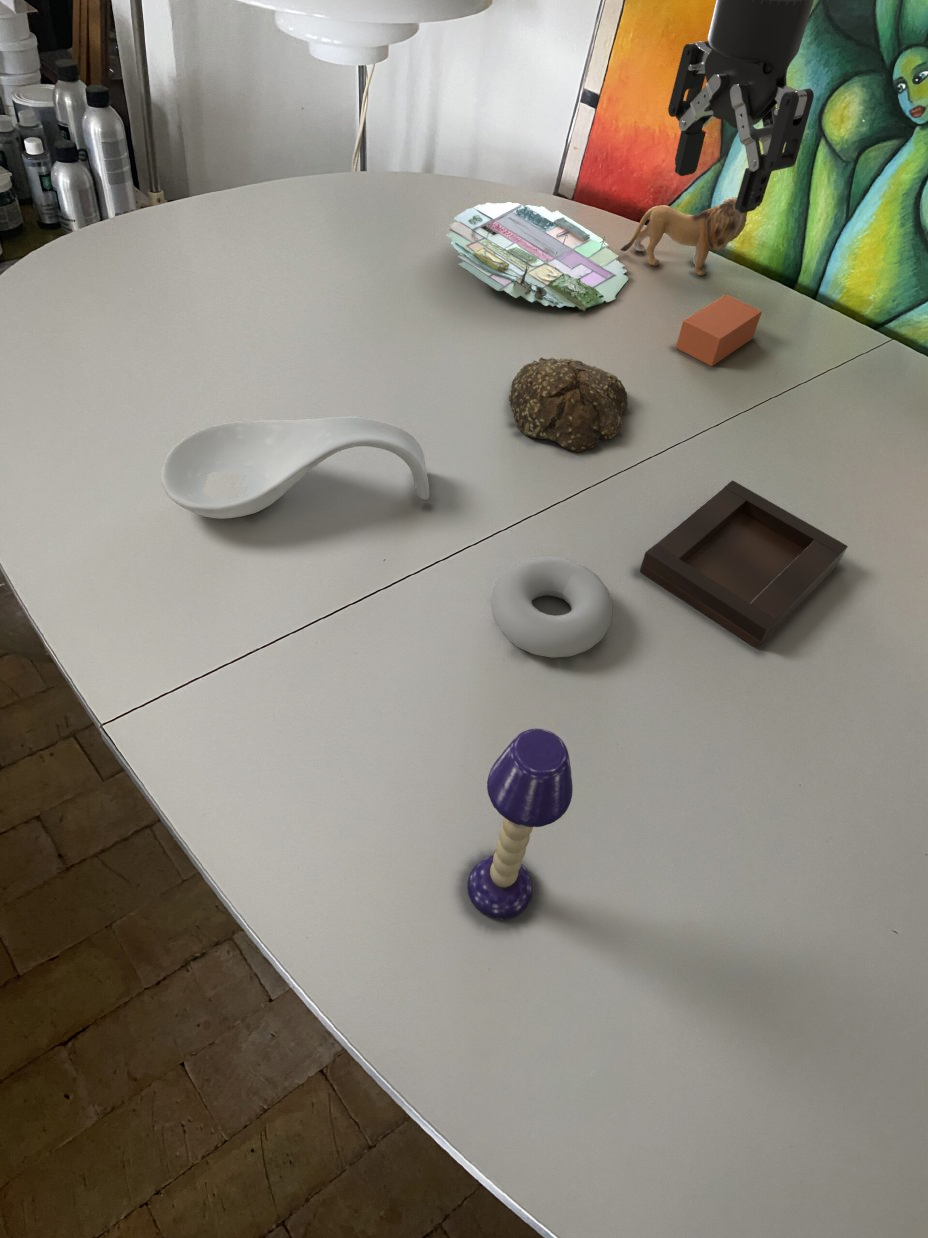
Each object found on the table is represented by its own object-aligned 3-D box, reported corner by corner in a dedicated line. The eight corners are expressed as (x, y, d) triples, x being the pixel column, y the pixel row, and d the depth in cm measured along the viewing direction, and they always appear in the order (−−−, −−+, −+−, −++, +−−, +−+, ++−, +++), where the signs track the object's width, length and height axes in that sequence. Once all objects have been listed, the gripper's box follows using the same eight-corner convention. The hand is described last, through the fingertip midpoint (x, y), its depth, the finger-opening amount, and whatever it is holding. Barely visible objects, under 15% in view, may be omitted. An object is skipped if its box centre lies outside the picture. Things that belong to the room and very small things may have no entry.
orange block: (717, 320, 105) (725, 293, 103) (753, 338, 103) (762, 310, 100) (675, 347, 101) (682, 320, 98) (711, 366, 99) (720, 338, 96)
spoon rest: (163, 544, 75) (145, 480, 70) (172, 457, 83) (156, 393, 77) (435, 527, 79) (438, 465, 73) (420, 445, 86) (421, 383, 81)
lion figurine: (730, 261, 115) (752, 192, 108) (731, 281, 112) (753, 210, 105) (620, 245, 116) (634, 175, 110) (617, 263, 113) (631, 193, 106)
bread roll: (517, 370, 96) (522, 329, 92) (629, 389, 95) (639, 348, 91) (496, 440, 87) (501, 398, 84) (619, 462, 86) (629, 420, 83)
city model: (603, 352, 103) (619, 305, 98) (416, 290, 104) (423, 241, 99) (634, 259, 119) (650, 215, 114) (472, 206, 120) (481, 161, 115)
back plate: (724, 499, 84) (732, 479, 82) (837, 565, 79) (848, 545, 77) (639, 571, 77) (645, 551, 75) (756, 649, 72) (766, 629, 70)
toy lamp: (505, 840, 59) (536, 697, 46) (555, 890, 57) (602, 754, 44) (453, 885, 57) (471, 748, 44) (503, 939, 55) (537, 810, 42)
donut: (472, 644, 70) (592, 681, 68) (474, 616, 68) (598, 654, 66) (511, 563, 77) (621, 595, 75) (514, 534, 74) (629, 566, 72)
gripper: (869, 4, 67) (796, 216, 79) (743, -45, 75) (695, 155, 87) (798, 13, 64) (734, 231, 76) (675, -38, 72) (635, 167, 84)
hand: (713, 191), depth 82 cm, fingers open, 8 cm apart
